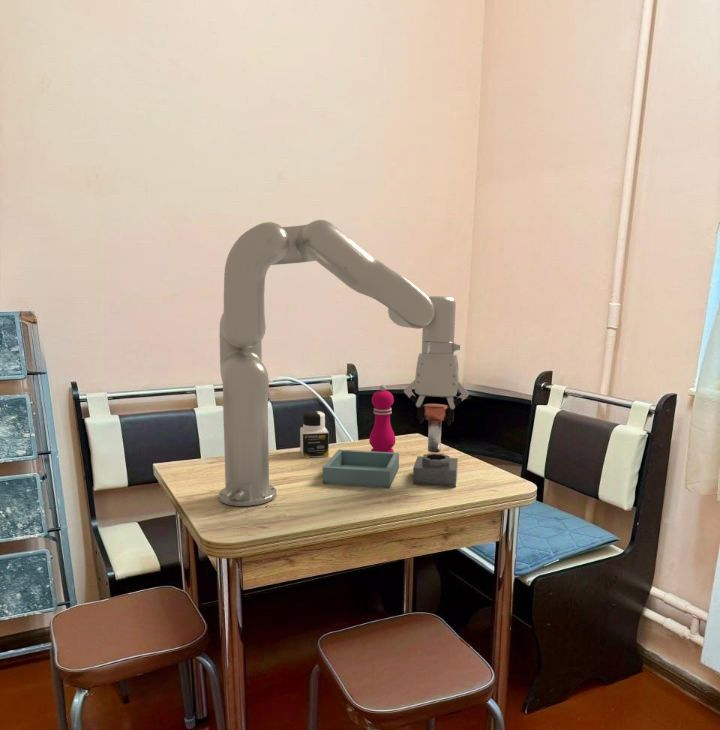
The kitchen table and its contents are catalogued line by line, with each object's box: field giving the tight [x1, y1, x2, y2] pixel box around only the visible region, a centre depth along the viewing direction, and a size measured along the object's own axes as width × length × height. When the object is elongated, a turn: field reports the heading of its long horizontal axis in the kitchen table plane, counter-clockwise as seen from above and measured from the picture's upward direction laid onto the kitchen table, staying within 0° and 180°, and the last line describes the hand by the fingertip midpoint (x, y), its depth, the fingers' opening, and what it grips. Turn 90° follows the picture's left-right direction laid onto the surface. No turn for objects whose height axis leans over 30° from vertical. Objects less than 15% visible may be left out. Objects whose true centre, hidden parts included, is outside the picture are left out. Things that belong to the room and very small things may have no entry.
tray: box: [322, 448, 400, 489], centre depth 144 cm, size 16×16×4 cm
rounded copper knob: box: [423, 403, 449, 454], centre depth 140 cm, size 6×6×11 cm
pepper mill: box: [369, 384, 396, 453], centre depth 160 cm, size 7×7×20 cm
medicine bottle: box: [299, 410, 330, 459], centre depth 162 cm, size 7×7×12 cm
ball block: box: [412, 452, 459, 488], centre depth 141 cm, size 10×10×6 cm
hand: (435, 422), depth 140 cm, fingers closed on rounded copper knob, 6 cm apart
